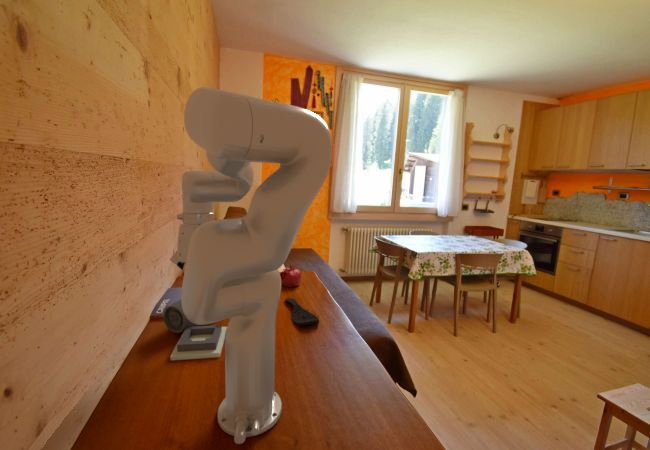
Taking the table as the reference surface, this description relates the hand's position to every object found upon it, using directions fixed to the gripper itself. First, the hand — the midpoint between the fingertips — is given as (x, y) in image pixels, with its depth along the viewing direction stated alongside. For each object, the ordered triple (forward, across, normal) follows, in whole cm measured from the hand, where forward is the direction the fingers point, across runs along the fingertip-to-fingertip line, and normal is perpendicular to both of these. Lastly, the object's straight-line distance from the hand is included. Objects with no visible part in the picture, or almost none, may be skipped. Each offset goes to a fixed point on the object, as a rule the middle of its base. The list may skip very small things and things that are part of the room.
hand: (200, 284), depth 82 cm
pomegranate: (+18, +28, +45) cm, 56 cm away
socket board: (+18, 0, 0) cm, 18 cm away
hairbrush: (+18, +29, +17) cm, 38 cm away
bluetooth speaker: (+18, -2, +14) cm, 23 cm away
